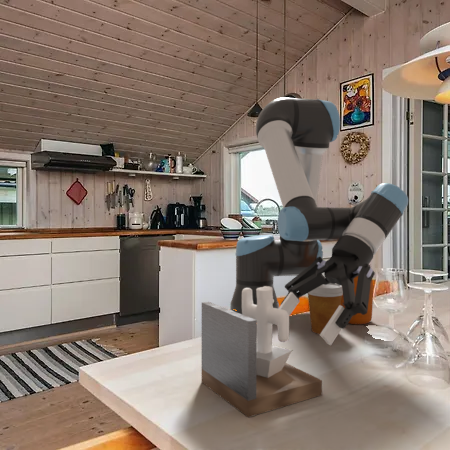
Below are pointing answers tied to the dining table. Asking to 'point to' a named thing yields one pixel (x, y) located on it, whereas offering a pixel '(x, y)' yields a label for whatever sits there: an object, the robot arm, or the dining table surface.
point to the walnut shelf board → (270, 390)
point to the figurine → (267, 330)
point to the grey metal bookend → (230, 348)
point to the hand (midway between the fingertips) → (299, 330)
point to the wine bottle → (359, 317)
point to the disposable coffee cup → (323, 305)
